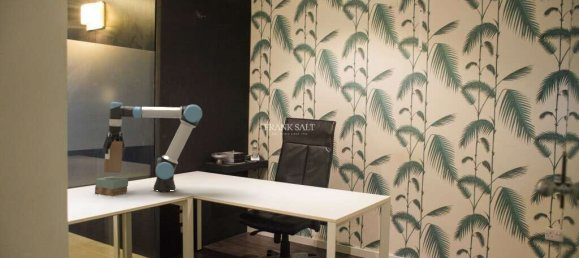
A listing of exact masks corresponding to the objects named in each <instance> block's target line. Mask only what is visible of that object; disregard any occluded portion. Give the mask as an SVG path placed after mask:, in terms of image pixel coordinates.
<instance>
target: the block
mask: <svg viewBox="0 0 579 258" xmlns="http://www.w3.org/2000/svg"><path fill="white" fill-rule="evenodd" d="M122 144H123V142H122V141H116V140H114V141H113V142H112V143H111V146H110V148H109V149H110V159H105V158H104V164H103V168H104V170H103V171H104V173H121V172H122V163H123V162H122V160H123V159H122V158H123V148H122Z"/></svg>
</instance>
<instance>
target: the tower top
mask: <svg viewBox="0 0 579 258" xmlns="http://www.w3.org/2000/svg"><path fill="white" fill-rule="evenodd" d="M94 185H95V186H94V188H95V187H101V188H108V189H116V188H121V187H126V186H127V187H128V186H129V178H126V177H125V178H124V177H118V176H107V177H100V178H95V184H94Z"/></svg>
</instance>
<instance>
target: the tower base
mask: <svg viewBox="0 0 579 258" xmlns="http://www.w3.org/2000/svg"><path fill="white" fill-rule="evenodd" d="M126 192H127V193H128V186H126V187H121V188H116V189H108V188H101V187H95V186H94V195H99V194H100V195H102V196H108V195H109V196H111V197H117V196H119V194H120V195H123V193H124V194H126ZM116 195H117V196H116Z"/></svg>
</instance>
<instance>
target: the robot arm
mask: <svg viewBox="0 0 579 258" xmlns="http://www.w3.org/2000/svg"><path fill="white" fill-rule="evenodd" d="M202 117H203V110H202V108H201V107H200V106H199V105H197V104H189V105H181V106H180V107H179V106H178V107H175V106H135V105H134V106H133V105H123V102H121V101H120V102H117V101H111V102H110V104H109V117H108V118H109V120H108V121H109V123H108V125H109V126H108V132H107V133H106V138H105V140H104V143H103V145H102V146H103V147H102V148H103V150H104V160H105V159H110V149H109V148H110V146H111V143H112V142H113V141H122V142H123V144H122V149H123V148H125V142H124V138H123V137H124V136H123V133H122V122H123V120H122V119H123V118H133V119H139V118H155V119H157V118H161V119H163V118H164V119H179V121H180V123H179V126H178V129H177V130H176V132H175V135H174V137H173V139H172V141H171V142H170V144H169V146H168V149H167V151H166V152H165V154H163V155H162V156H161V157H158V158H157V161H156V163H157V164H156V167H155V174H156V179H155V182H154V185H153V187H152V188H153V189H154V190H158V191H170V190H175V189H176V188H177V187H176V184H175V180H174V177H175V170H176V168H177V166H178V164H179V162H178V159H179V158H180V155H181V154H182V151H183V149H184V147H185V145H186V143H187V141H188V139H189V137H190V135H191V133H192V131H193V129H194V128H195V129H196V127H197V126H198V124H199V122H200V120H201V119H202ZM109 132H110V133H109ZM154 190H153V191H154ZM175 191H176V190H175Z"/></svg>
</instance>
